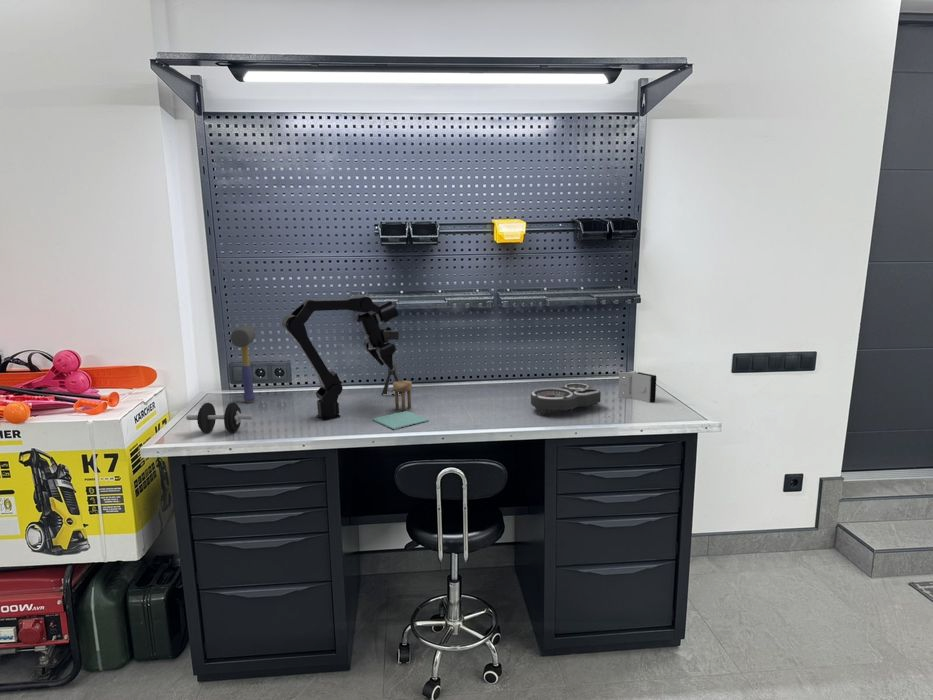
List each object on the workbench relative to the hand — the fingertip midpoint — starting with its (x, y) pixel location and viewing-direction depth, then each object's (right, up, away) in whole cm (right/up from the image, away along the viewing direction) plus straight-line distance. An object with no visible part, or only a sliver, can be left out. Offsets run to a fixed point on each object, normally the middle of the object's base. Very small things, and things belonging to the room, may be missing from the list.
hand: (387, 367), depth 209 cm
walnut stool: (+6, -15, -1) cm, 17 cm away
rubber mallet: (-56, -14, +13) cm, 59 cm away
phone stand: (0, -12, +22) cm, 25 cm away
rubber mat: (+7, -18, -14) cm, 24 cm away
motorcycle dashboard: (+65, -15, -4) cm, 67 cm away
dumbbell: (-51, -21, -22) cm, 60 cm away
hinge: (+94, -13, +7) cm, 95 cm away
